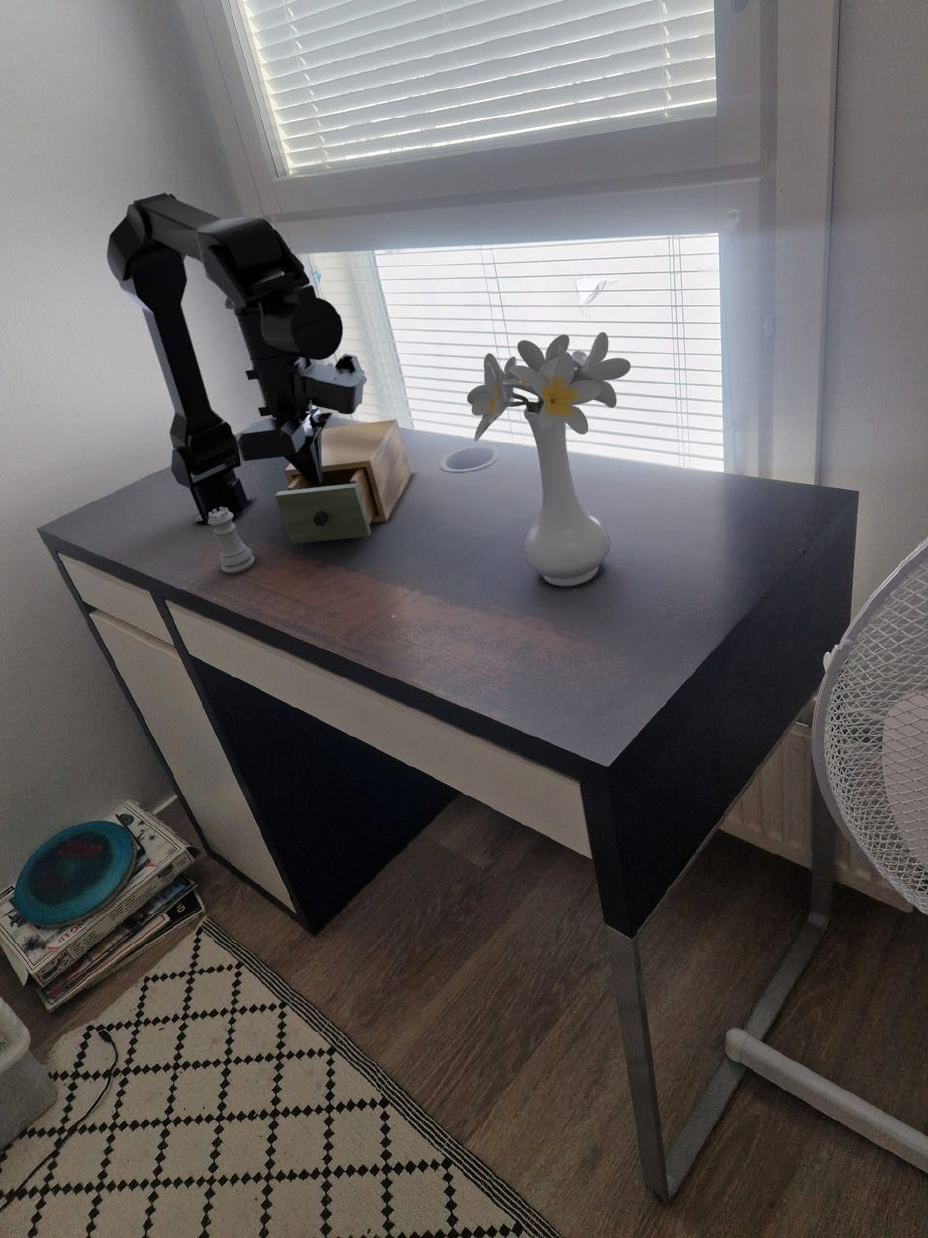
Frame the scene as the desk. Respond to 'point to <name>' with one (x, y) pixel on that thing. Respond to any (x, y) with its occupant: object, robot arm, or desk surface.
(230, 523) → the rook chess piece
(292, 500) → the drawer
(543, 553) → the flower vase
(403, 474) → the drawer unit
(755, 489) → the desk surface
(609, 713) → the desk surface
